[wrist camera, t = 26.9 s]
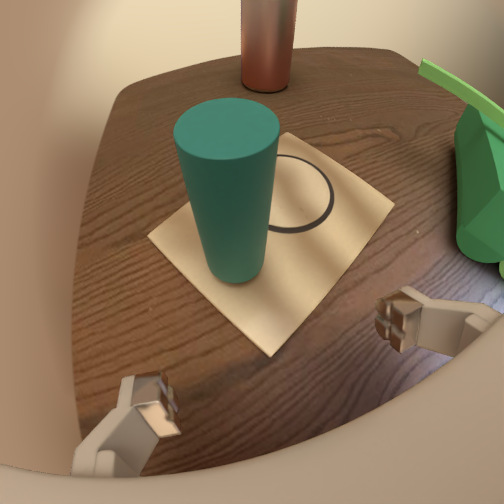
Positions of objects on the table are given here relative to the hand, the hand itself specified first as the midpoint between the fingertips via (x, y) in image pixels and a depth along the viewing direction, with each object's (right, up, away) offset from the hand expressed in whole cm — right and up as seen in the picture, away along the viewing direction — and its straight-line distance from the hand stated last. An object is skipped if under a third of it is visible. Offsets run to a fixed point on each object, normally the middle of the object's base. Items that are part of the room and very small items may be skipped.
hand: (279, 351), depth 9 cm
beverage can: (+1, +25, +21) cm, 33 cm away
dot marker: (-2, +3, +9) cm, 10 cm away
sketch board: (+1, +6, +11) cm, 13 cm away
